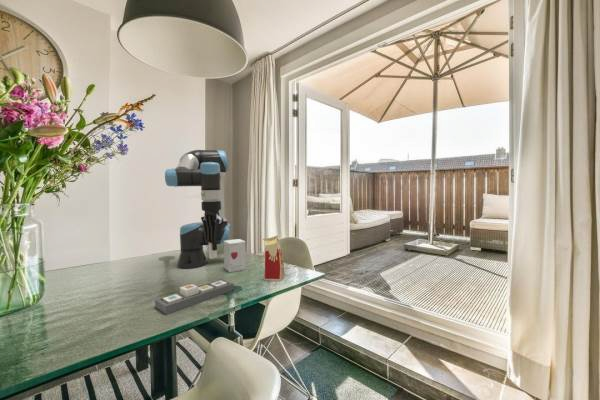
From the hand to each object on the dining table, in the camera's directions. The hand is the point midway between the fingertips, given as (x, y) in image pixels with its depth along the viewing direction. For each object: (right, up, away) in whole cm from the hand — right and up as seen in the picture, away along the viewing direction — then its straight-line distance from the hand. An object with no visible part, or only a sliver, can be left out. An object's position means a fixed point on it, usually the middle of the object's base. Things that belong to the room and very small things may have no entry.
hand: (213, 257), depth 108 cm
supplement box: (+2, -13, +30) cm, 32 cm away
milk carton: (+23, -13, +15) cm, 31 cm away
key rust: (-6, -12, -10) cm, 16 cm away
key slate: (+2, -13, 0) cm, 13 cm away
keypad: (-4, -14, -7) cm, 16 cm away
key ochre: (-2, -13, -5) cm, 14 cm away
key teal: (-10, -14, -14) cm, 22 cm away
